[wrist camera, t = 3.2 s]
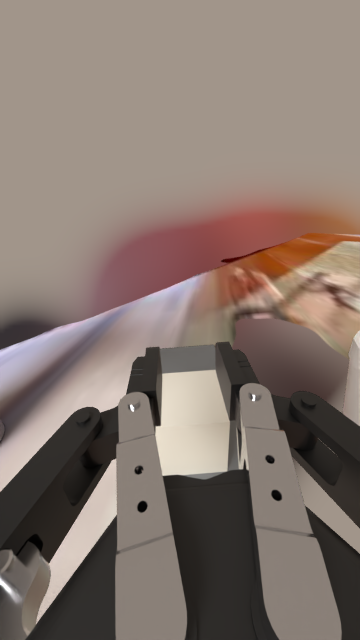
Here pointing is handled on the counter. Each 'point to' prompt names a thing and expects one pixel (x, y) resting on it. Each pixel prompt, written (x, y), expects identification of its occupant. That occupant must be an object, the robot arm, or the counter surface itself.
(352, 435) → the robot arm
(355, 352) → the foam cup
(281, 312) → the counter surface
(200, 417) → the off-white cube
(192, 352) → the rubber mat
